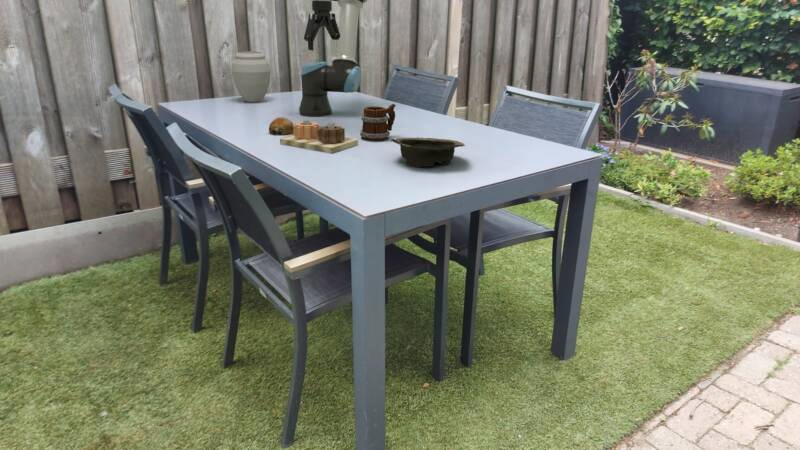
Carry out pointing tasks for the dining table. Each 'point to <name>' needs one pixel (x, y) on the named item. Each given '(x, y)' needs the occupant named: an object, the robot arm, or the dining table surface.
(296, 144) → the peg board
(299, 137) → the gear
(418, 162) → the stone bowl
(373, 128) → the mug
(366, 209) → the dining table surface
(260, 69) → the vase
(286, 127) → the bread roll
